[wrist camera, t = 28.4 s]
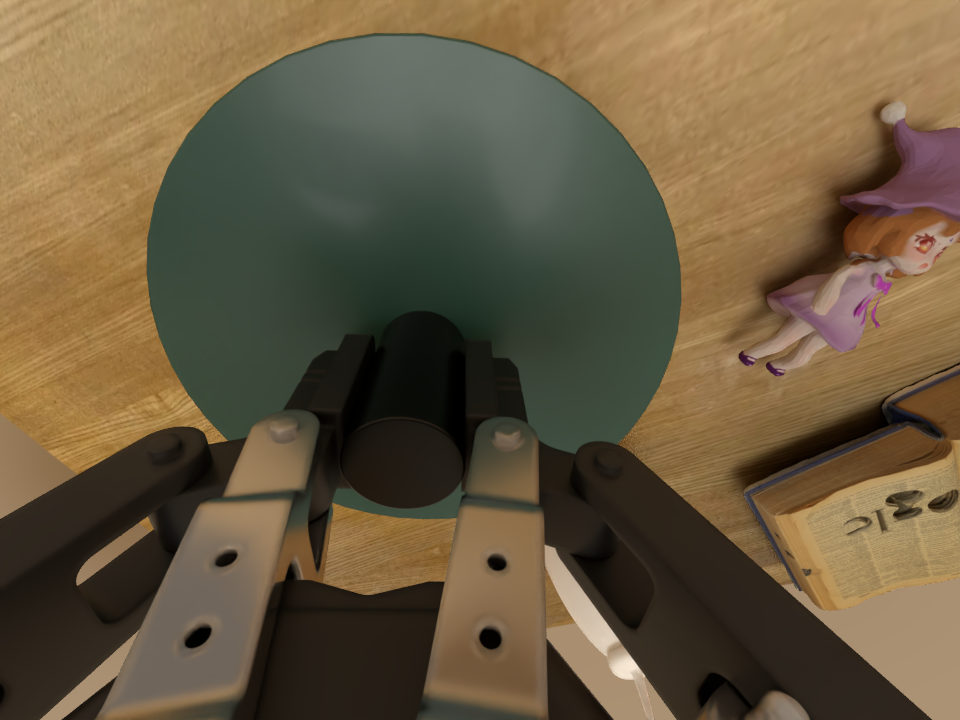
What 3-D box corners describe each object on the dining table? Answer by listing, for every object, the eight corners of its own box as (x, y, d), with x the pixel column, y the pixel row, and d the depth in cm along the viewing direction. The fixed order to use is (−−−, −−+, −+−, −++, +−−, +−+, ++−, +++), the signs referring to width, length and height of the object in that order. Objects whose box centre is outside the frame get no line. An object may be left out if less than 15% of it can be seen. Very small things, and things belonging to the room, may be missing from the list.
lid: (234, 493, 18) (137, 657, 13) (80, 9, 10) (-357, -92, 5) (608, 502, 19) (663, 659, 13) (744, 65, 11) (1009, 33, 6)
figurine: (736, 383, 25) (1065, 133, 16) (668, 297, 30) (893, 71, 21) (810, 404, 30) (1097, 219, 21) (741, 327, 35) (950, 151, 26)
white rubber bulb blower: (510, 443, 35) (546, 720, 19) (605, 407, 33) (727, 678, 18) (546, 503, 38) (599, 777, 23) (632, 474, 37) (752, 746, 21)
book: (1078, 308, 30) (1205, 351, 25) (1076, 453, 37) (1175, 510, 32) (723, 469, 37) (765, 529, 32) (780, 565, 44) (821, 626, 39)
